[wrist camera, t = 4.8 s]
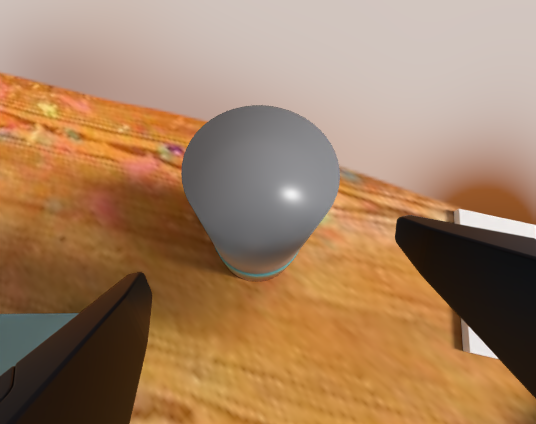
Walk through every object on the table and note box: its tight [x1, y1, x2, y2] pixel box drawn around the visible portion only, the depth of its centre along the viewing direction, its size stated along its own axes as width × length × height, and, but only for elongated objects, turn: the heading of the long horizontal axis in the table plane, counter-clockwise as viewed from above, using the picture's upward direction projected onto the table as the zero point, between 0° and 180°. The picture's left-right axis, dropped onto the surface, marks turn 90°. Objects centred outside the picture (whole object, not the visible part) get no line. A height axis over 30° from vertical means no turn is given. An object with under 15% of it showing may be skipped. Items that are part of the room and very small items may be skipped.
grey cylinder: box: [182, 105, 340, 282], centre depth 14 cm, size 6×6×11 cm
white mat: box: [454, 209, 536, 359], centre depth 19 cm, size 10×10×1 cm
